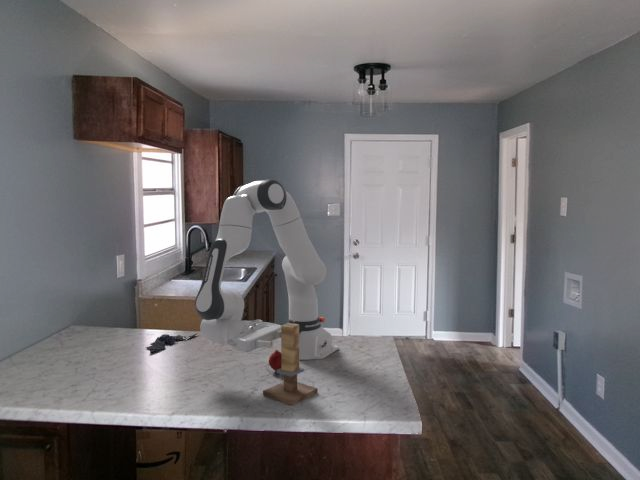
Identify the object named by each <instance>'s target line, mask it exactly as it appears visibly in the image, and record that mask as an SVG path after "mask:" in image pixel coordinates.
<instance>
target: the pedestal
mask: <svg viewBox="0 0 640 480" xmlns="http://www.w3.org/2000/svg"><path fill="white" fill-rule="evenodd" d="M304 372H305V368H302V367H300V366H299V369H297V370H296V371H294V372H288V371H283V370H282V368H280V369H277V372H276V373H277V374H280V375H283V381H282V382H280V383H277V384H275V385H273V386H271V387H268V388H267V389H266V388H265V389H264V390H262V396H264V397H267V398H270V399H272V400H275V401H279V402H281V403H285V404H287V405H289V406H294V405H296V404H298V403H300V402H302V401H304V400H306V399H309V398H310V397H313V396H314V395H317V394H318V391H319V389H318V388H317V387H315V386H313V385H312V386H311V385H308V384H304V383H301V382H298V375H299V374H300V373H304Z"/></svg>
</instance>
